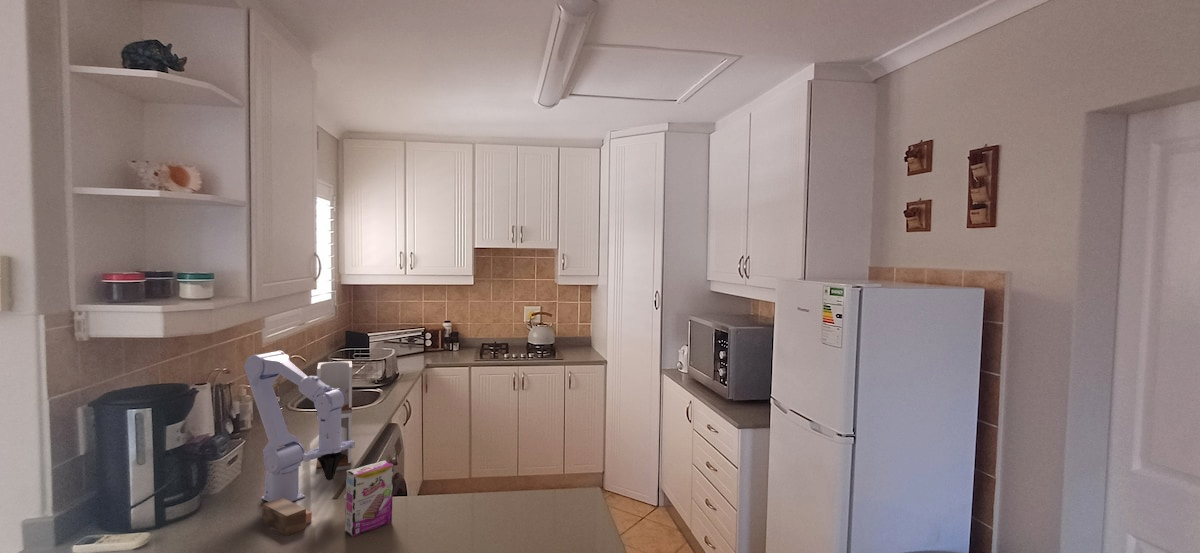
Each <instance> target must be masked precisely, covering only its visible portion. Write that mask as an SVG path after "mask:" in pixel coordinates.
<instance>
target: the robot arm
mask: <svg viewBox="0 0 1200 553" xmlns="http://www.w3.org/2000/svg"><path fill="white" fill-rule="evenodd" d="M243 369H244V371H245V374H246V377H247V380H248V384H249V388H250V391H251V393H252V396H253V400H254V402H255V405H256V408H257V411H258V413H259V415H260V416H259V417H260V419H261V423H262V425H263V428H264V431H265V435H266V437H267V439H268V442H267V443H266V445H265V447H264V448H263V450H262V454H263V464H264V468H265V469H266V470H267V471H266V473H265V476H264V495H262V496H261V499H262V500H264V501H266V502H270V501H273V500H276V499H279V498H284V499H286V500H288V501H291V502H294V501H297V500H300V499H304V498H305V495H304V494H303V493H301V492H299V484H300V483H299V476H300V475H299V474H300V471H299V469H300V468H299V467H301V464H302V462H306V463H308V462H310V461H312V460H315V459H316V460H317V459H318V461H319V462H320V464H321V466H322V468H323V471H324V472H323V474H324V478H325V480H327V481H332V480H334V479H335V476H336V472H337V470H336V469H337V466H338V464H339V462H340V460H341V459H342V457H343V454H342V453H340V451H342V450H346V449H349V448H351V449H354V448H356V441H355V440H352V439H351V440H349V441H345V442H341V407H343V406H344V405H345V403H346V395H345V393H344V392H343V391H342V390H341V389H340V388H335V389H334V388H331V387H330V386H329V385H326V384H325V383H324V382H322V381H321V380H319V377H317V375H309V376H308V375H307V374H305V372H303V371H302V370H301V369H300V368H299V367H297V365H295V364H294V362H292V361H291V359H290V355H289V354H286V353H285V352H284V351H283V350H279V349H278V350H275V351H271V352H270V351H269V352H266V353H264V352H263V353H259V354H252V355H249V356H248V357H247V359H246V361H245V363H244V365H243ZM280 376H282V377H283V378H285V379H286V380H288V381H290V382H292V383H293V384H295V385H296V386H298V391H299V393H301V394H302V396H304V397H306V398H307V399H309V400H310V401H311V402H313V405H314V408H315V411H316V417H317V416H318V418H319V420H318V447H316V448H314V449H311V450H309V451H308V452H306V449H305V447H304V445H303V444H302V443H301V442H300V439H299V437H298V436H295V435H293V434H291V433H289V430H288V427H287V424H286V421H285V418H284V415H283V413H282V409H281V406H280V404H279V400H278V398H277V395H276V393H275V389H274V386H273V385H274V383H275V381H276V380H277V378H278V379H279V377H280Z"/></svg>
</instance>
